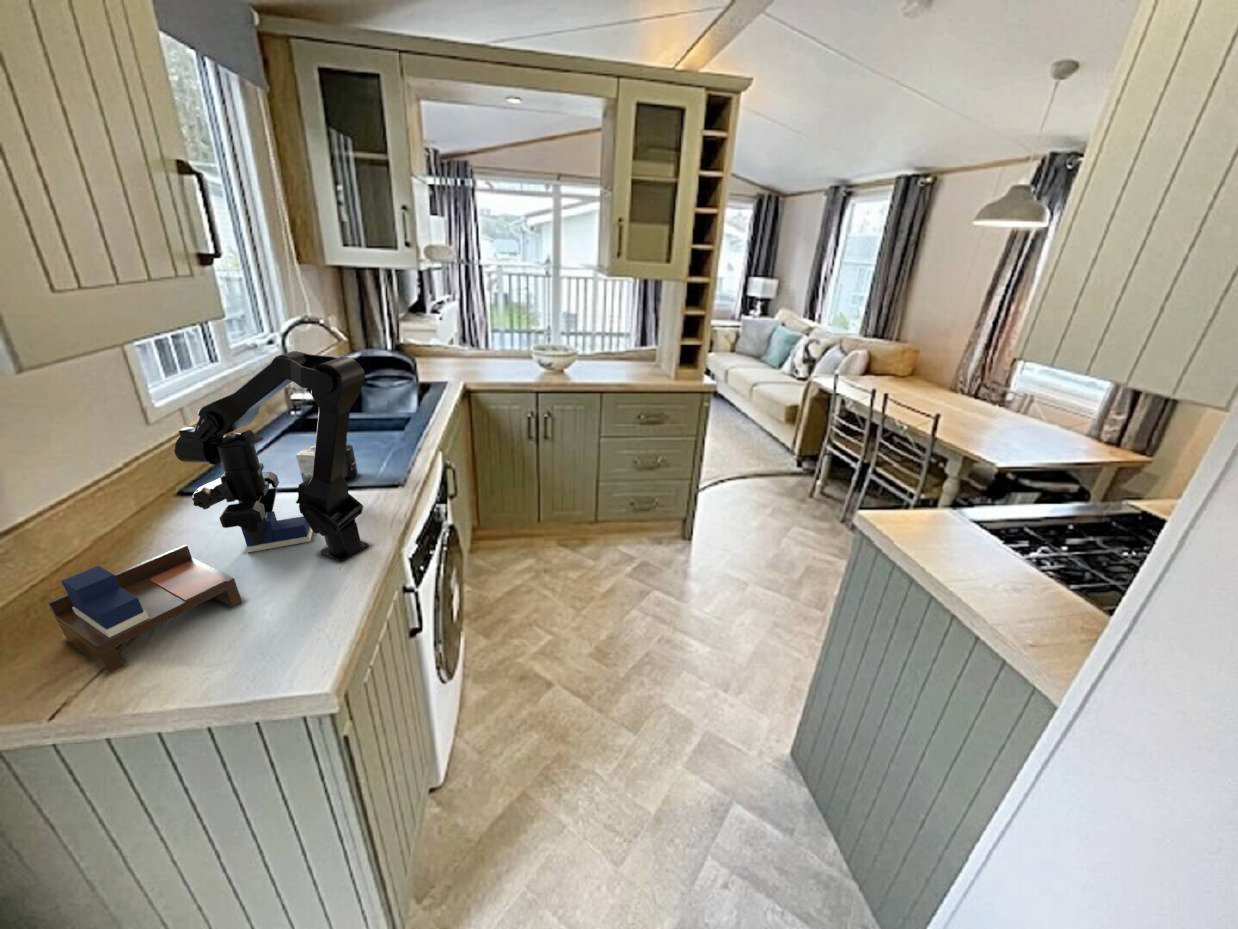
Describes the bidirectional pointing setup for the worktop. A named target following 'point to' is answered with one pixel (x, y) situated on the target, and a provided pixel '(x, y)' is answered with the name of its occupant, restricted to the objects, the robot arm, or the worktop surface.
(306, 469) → the syrup box
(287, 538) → the trainer
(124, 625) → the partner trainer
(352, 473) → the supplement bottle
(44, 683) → the worktop surface
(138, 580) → the shoe rack
